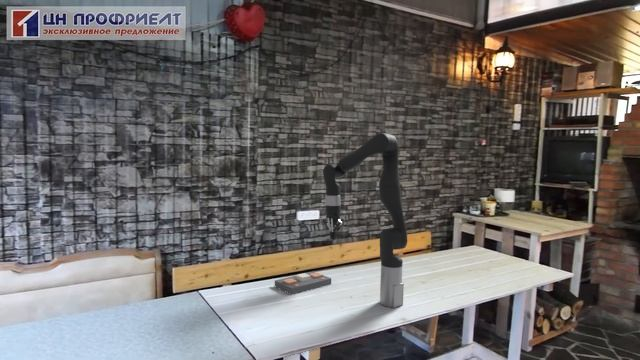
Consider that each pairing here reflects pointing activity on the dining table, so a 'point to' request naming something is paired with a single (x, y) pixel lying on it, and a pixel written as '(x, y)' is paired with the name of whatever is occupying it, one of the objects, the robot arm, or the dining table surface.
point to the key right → (316, 275)
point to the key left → (289, 281)
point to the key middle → (303, 277)
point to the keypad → (303, 284)
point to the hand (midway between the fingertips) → (332, 239)
